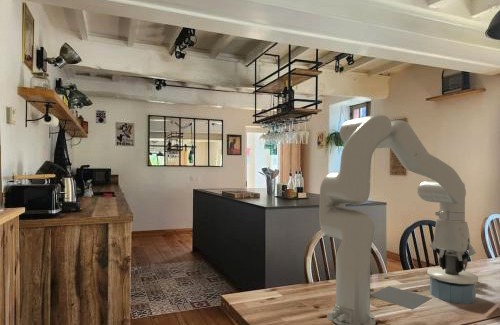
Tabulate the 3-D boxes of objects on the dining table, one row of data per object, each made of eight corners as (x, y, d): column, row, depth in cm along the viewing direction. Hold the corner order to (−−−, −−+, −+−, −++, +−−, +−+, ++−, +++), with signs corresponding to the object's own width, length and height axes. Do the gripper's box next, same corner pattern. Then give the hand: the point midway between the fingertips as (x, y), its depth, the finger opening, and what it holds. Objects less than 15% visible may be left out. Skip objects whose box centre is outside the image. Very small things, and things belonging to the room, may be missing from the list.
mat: (412, 311, 104) (412, 309, 104) (367, 297, 115) (367, 295, 115) (432, 300, 114) (432, 297, 114) (389, 288, 125) (389, 286, 125)
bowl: (467, 309, 107) (467, 289, 107) (424, 297, 117) (424, 279, 117) (480, 299, 115) (480, 281, 115) (438, 288, 125) (438, 272, 125)
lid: (469, 287, 106) (469, 264, 106) (419, 275, 117) (420, 254, 117) (484, 278, 115) (484, 256, 116) (437, 268, 127) (437, 248, 127)
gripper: (422, 214, 120) (421, 266, 120) (476, 220, 108) (476, 278, 107) (430, 213, 125) (430, 263, 125) (483, 218, 113) (483, 274, 112)
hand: (451, 269), depth 116 cm, fingers closed on lid, 3 cm apart
